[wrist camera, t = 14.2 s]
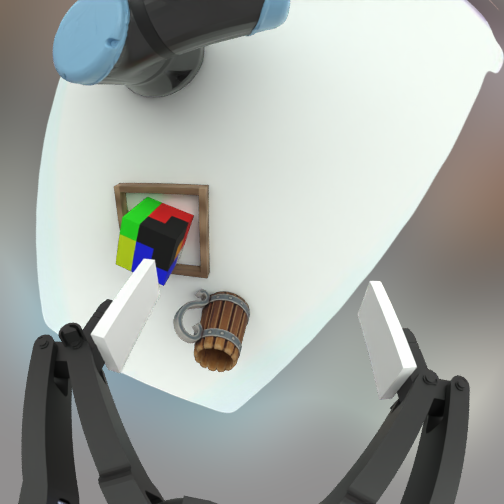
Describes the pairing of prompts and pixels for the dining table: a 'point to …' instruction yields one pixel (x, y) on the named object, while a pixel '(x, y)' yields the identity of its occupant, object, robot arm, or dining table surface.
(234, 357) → the mug
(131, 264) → the puzzle toy
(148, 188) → the square wooden frame
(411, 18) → the dining table surface
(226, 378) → the dining table surface
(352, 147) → the dining table surface
